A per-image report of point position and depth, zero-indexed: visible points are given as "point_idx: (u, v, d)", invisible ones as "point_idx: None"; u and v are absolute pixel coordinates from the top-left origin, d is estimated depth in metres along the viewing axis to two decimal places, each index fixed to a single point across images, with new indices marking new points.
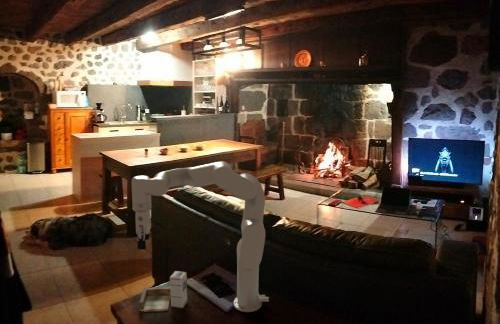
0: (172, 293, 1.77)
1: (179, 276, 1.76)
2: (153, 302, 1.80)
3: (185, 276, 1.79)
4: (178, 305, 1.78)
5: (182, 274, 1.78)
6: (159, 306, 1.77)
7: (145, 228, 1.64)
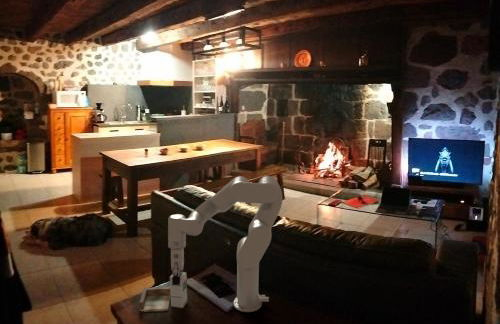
0: (172, 293, 1.77)
1: None
2: (153, 302, 1.80)
3: (185, 276, 1.79)
4: (178, 305, 1.78)
5: (182, 274, 1.78)
6: (159, 306, 1.77)
7: (180, 265, 1.72)
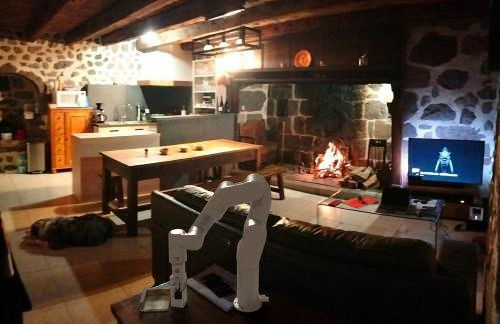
0: (172, 293, 1.77)
1: None
2: (153, 302, 1.80)
3: (185, 276, 1.79)
4: (178, 305, 1.78)
5: None
6: (159, 306, 1.77)
7: (181, 280, 1.73)
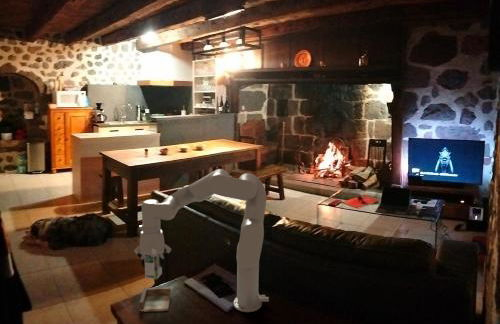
0: None
1: None
2: (153, 302, 1.80)
3: (152, 251, 1.73)
4: None
5: None
6: (159, 306, 1.77)
7: (139, 247, 1.73)
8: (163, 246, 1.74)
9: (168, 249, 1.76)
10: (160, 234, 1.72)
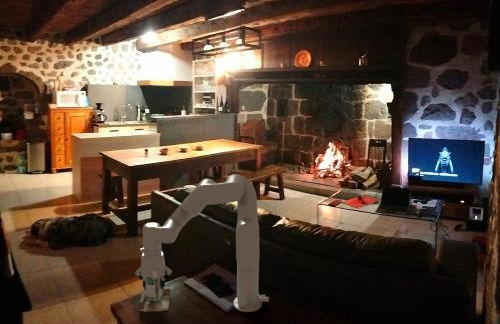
0: None
1: None
2: (153, 302, 1.80)
3: (153, 273, 1.75)
4: None
5: None
6: (159, 306, 1.77)
7: (141, 270, 1.75)
8: (164, 268, 1.76)
9: (169, 271, 1.78)
10: (161, 257, 1.75)
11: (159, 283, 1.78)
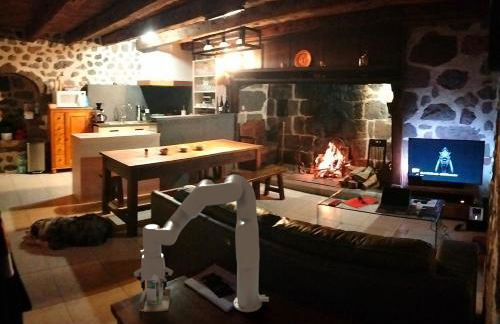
0: None
1: None
2: None
3: (154, 277, 1.75)
4: None
5: None
6: (159, 306, 1.77)
7: (141, 272, 1.76)
8: (164, 270, 1.76)
9: (170, 272, 1.78)
10: (161, 258, 1.75)
11: (160, 287, 1.79)
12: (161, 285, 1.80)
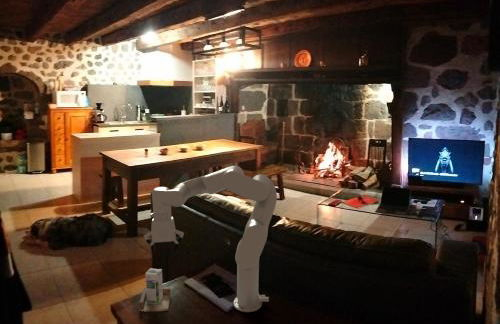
0: None
1: (148, 272, 1.77)
2: None
3: (154, 277, 1.76)
4: None
5: (153, 273, 1.76)
6: (159, 306, 1.77)
7: None
8: (174, 233, 1.75)
9: (181, 234, 1.77)
10: (171, 221, 1.74)
11: (160, 286, 1.79)
12: (161, 285, 1.80)
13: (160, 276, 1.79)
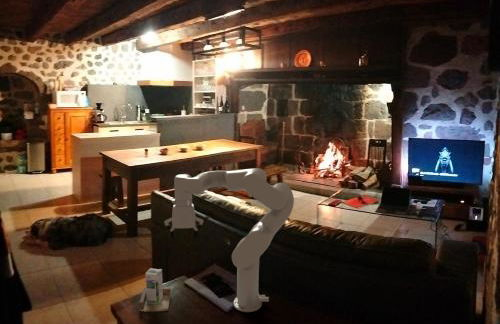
0: None
1: (148, 272, 1.77)
2: None
3: (154, 277, 1.76)
4: None
5: (153, 273, 1.76)
6: (159, 306, 1.77)
7: (172, 221, 1.78)
8: None
9: (200, 221, 1.80)
10: (192, 208, 1.77)
11: (160, 286, 1.79)
12: (161, 285, 1.80)
13: (160, 276, 1.79)
